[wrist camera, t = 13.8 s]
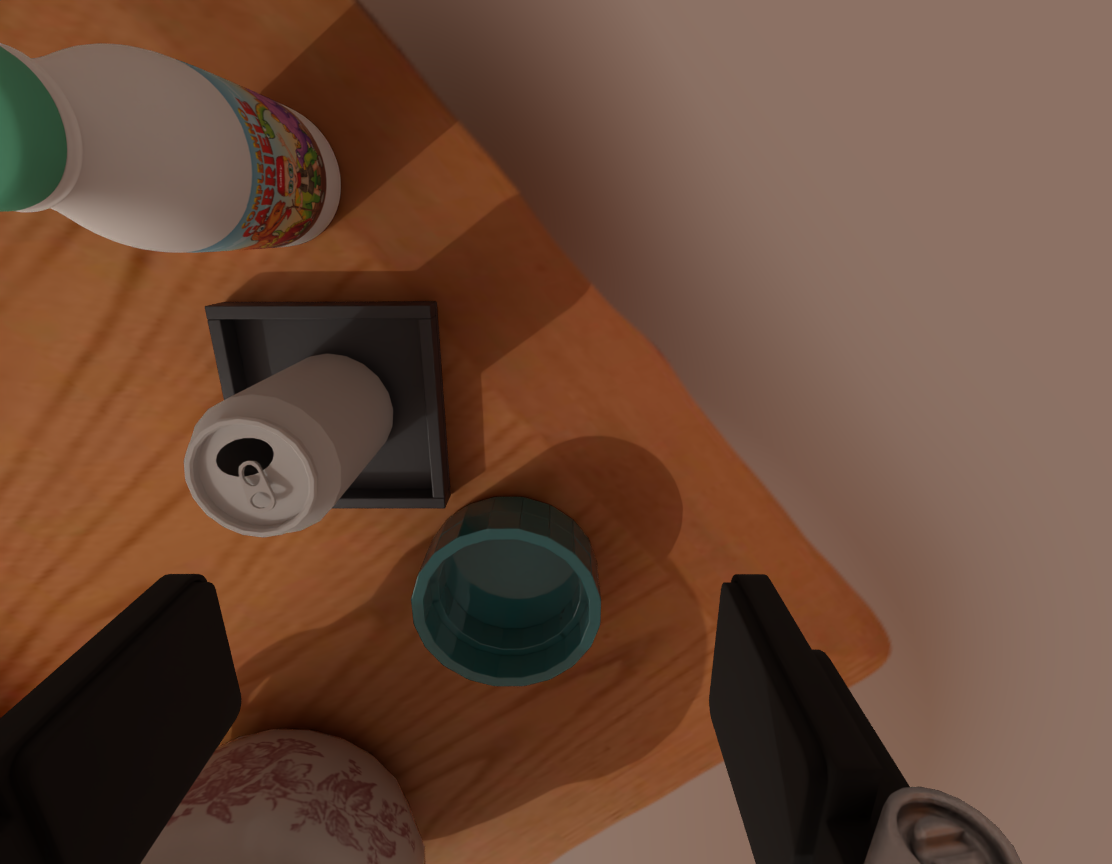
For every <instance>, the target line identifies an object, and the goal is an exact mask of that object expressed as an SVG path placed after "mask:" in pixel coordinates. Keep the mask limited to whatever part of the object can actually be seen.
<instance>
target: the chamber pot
mask: <svg viewBox="0 0 1112 864" xmlns="http://www.w3.org/2000/svg"><path fill="white" fill-rule="evenodd" d="M141 864H426V863H425V846H424V843H423V841H422V838H421V835H420V832H419V830H418V827H417V824H416V821H415V819H414V816H413V813H412V811H411V808H410V805H409V803H408V801H407V799H406V797H405V795H404V793H403V791H402V789H401V787H400V785H399V783H398V781H397V779H396V778H395V777H394V776H393V775H392V774H391V773H390V772H389V771H388V770H387V769H386V768H385V767H384V766H383V765H382V764H381V763H380V762H379V761H378V760H377V759H376V758H375V757H374V756H373V755H372V754H371V753H369V752H367V751H366V750H364V749H362V748H360V747H358V746H356V745H355V744H353V743H351V742H349V741H347V740H346V739H344V738H341V737H337V736H333V735H330V734H326V733H322V732H319V731H315V730H310V729H281V728H279V729H272V730H267V731H263V732H258V733H254V734H249V735H245V736H240V737H237V738H235V739H233V740H231V741H229V742H227V743H225V744H223V745H221V746H219V747H217V749H216V750H215V752H214V753H213V755H212V756H211V758H210V759H209V761H208V762H207V764H206V765H205V767H204V768H203V770H202V771H201V773H200V774H199V776H198V777H197V779H196V780H195V782H194V783H193V785H192V786H191V788H190V789H189V791H188V792H187V794H186V796H185V797H184V799H183V800H182V802H181V803H180V805H179V806H178V808H177V809H176V811H175V812H174V814H173V815H172V817H171V818H170V820H169V821H168V823H167V824H166V826H165V827H164V829H163V830H162V832H161V833H160V835H159V836H158V838H157V839H156V841H155V842H154V844H153V846H152V847H151V849H150V850H149V852H148V853H147V855H146V856H145V858H144V859H143V861H142V862H141Z"/></svg>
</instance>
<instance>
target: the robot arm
mask: <svg viewBox="0 0 1112 864" xmlns="http://www.w3.org/2000/svg"><path fill="white" fill-rule="evenodd" d="M240 707H241V693H240V689H239V685H238V681H237V676H236V672H235V668H234V664H233V660H232V655H231V651H230V647H229V643H228V639H227V635H226V630H225V626H224V622H223V618H222V614H221V610H220V605H219V601H218V597H217V593H216V589H215V587H214V585H213V584H212V583H210V582H207V580H206V578H205V577H204V576H203V575H200V574H168V575H165V576H163V577H161V578H160V579H159V580H158V581H157V582H155V583H154V584H153V585H152V586H151V587H150V588H149V589H147V590H146V591H145V592H144V593H143V594H142V595H141V596H139V597H138V598H137V599H136V600H135V601H134V602H133V603H131V604H130V605H129V606H128V607H127V608H126V609H125V610H123V611H122V612H121V613H120V614H119V615H118V616H117V617H115V618H114V619H113V620H112V621H111V622H110V623H109V624H107V625H106V626H105V627H104V628H103V629H102V630H101V631H100V632H98V633H97V634H96V635H95V636H94V637H93V638H92V639H90V640H89V641H88V642H87V643H86V644H85V645H84V646H82V647H81V648H80V649H79V650H78V651H77V652H76V653H74V654H73V655H72V656H71V657H70V658H69V659H68V660H66V661H65V662H64V663H63V664H62V665H61V666H60V667H58V668H57V669H56V670H55V671H54V672H53V673H52V674H50V675H49V676H48V677H47V678H46V679H45V680H44V681H42V682H41V683H40V684H39V685H38V686H37V687H36V688H34V689H33V690H32V691H31V692H30V693H29V694H28V695H27V696H25V697H24V698H23V699H22V700H21V701H20V702H19V703H17V704H16V705H15V706H14V707H13V708H12V709H11V710H9V711H8V712H7V713H6V714H5V715H4V716H3V717H1V718H0V864H141V862H142V861H143V859H144V858H145V856H146V855H147V853H148V852H149V850H150V849H151V847H152V846H153V844H154V842H155V841H156V839H157V838H158V836H159V835H160V833H161V832H162V830H163V829H164V827H165V826H166V824H167V823H168V821H169V820H170V818H171V817H172V815H173V814H174V812H175V811H176V809H177V808H178V806H179V805H180V803H181V802H182V800H183V799H184V797H185V796H186V794H187V792H188V791H189V789H190V788H191V786H192V785H193V783H194V782H195V780H196V779H197V777H198V776H199V774H200V773H201V771H202V770H203V768H204V767H205V765H206V764H207V762H208V761H209V759H210V758H211V756H212V755H213V753H214V752H215V750H216V749H217V747H218V745H219V744H220V742H221V741H222V739H223V738H224V736H225V735H226V733H227V732H228V730H229V729H230V727H231V726H232V724H233V723H234V721H235V720H236V718H237V716H238V714H239V711H240ZM709 707H710V714H711V719H712V723H713V726H714V729H715V732H716V736H717V739H718V742H719V745H720V749H721V752H722V755H723V758H724V762H725V765H726V768H727V771H728V775H729V778H730V781H731V784H732V787H733V791H734V794H735V797H736V801H737V804H738V807H739V810H740V814H741V817H742V820H743V823H744V827H745V830H746V833H747V836H748V840H749V843H750V846H751V849H752V853H753V856H754V859H755V862H756V864H1022V862H1021V860H1020V858H1019V856H1018V854H1017V852H1016V850H1015V848H1014V846H1013V845H1012V844H1011V842H1010V841H1009V840H1008V839H1007V838H1006V836H1005V835H1004V834H1003V833H1002V831H1001V830H1000V829H999V828H998V827H997V826H996V825H995V824H993V822H991V821H990V820H989V819H988V818H987V817H986V816H984V815H983V814H982V813H981V812H980V811H978V810H977V809H975V808H973V807H972V806H970V805H969V804H967V803H965V802H964V801H962V800H960V799H959V798H956V797H953V796H951V795H949V794H946V793H944V792H942V791H939V790H935V789H929V788H924V787H910V786H909V785H908V783H907V782H906V780H905V778H904V777H903V775H902V774H901V772H900V770H899V769H898V767H897V766H896V764H895V762H894V761H893V759H892V758H891V756H890V754H889V753H888V751H887V750H886V748H885V746H884V745H883V743H882V742H881V740H880V739H879V737H878V735H877V734H876V732H875V730H874V729H873V727H872V726H871V724H870V722H869V721H868V719H867V718H866V716H865V714H864V713H863V711H862V710H861V708H860V707H859V705H858V703H857V702H856V700H855V698H854V697H853V695H852V694H851V692H850V690H849V689H848V687H847V686H846V684H845V682H844V681H843V679H842V678H841V676H840V674H839V673H838V671H837V670H836V668H835V666H834V665H833V663H832V662H831V660H830V659H829V657H828V656H827V655H826V654H825V653H824V652H823V651H821V650H812V649H811V648H810V646H809V644H808V643H807V641H806V639H805V638H804V636H803V634H802V632H801V631H800V629H799V627H798V626H797V624H796V622H795V621H794V619H793V617H792V616H791V614H790V612H789V611H788V609H787V607H786V606H785V604H784V602H783V601H782V599H781V597H780V596H779V594H778V592H777V590H776V589H775V587H774V585H773V584H772V582H771V580H770V579H769V577H768V576H767V575H764V574H735V575H734V576H733V577H732V580H731V583H723V584H722V587H721V595H720V604H719V613H718V622H717V631H716V640H715V649H714V659H713V668H712V677H711V686H710V695H709Z"/></svg>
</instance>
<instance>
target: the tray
mask: <svg viewBox="0 0 1112 864" xmlns="http://www.w3.org/2000/svg"><path fill="white" fill-rule="evenodd" d="M205 311H206V316H207V319H209V320H208V324H209V329H210V334H211V339H212V344H213V349H214V353H215V358H216V363H217V368H218V373H219V378H220V382H221V387H222V392H223V397H224V400H226V399H227V398H229V397H231V396H233V395H235V394H237V393H239V392H241V391H243V390H245V389H247V388H249V387H251V386H253V385H255V384H257V383H259V382H261V381H263V380H264V379H266V378H268V377H270V376H272V375H274V374H276V373H278V372H280V371H282V370H284V369H286V368H288V367H290V366H292V365H294V364H296V363H298V362H300V361H302V360H304V359H306V358H308V357H310V356H316V355H321V354H335V355H342V356H347V357H349V358H351V359H353V360H356V361H358V362H360V363H362V364H364V365H365V366H366V367H367V368H369V369H370V370H371V371H372V372H373V373H374V374H376V375H377V376H378V377H379V379H380V380H381V382H382V383H383V385H384V386H385V388H386V390H387V391H388V393H389V396H390V400H391V403H392V407H393V425H392V429H391V431H390V434H389V436H388V438H387V441H386V442H385V444H384V445H383V446H382V447H381V449H380V450H379V451H378V452H377V453H376V455H375V456H374V457H373V458H372V460H371V461H370V462H369V463H368V464H367V466H366V467H365V468H364V469H363V471H362V472H361V473H360V474H359V475H358V477H357V478H356V479H355V480H354V482H353V483H352V484H351V485H350V486H349V488H348V489H347V490H346V491H345V493H344V494H343V495H342V496H341V497H340V499H339V500H338V501H337V502H336V504H335V505H334V506H333V507H332V508H445V507H446V505H447V502H448V500H449V498H450V495H451V492H450V478H449V464H448V450H447V437H446V423H445V409H444V395H443V382H442V368H441V354H440V340H439V326H438V313H437V302H436V301H378V302H222V303H217V304H212V305H208V306H205Z"/></svg>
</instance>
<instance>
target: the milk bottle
mask: <svg viewBox="0 0 1112 864" xmlns="http://www.w3.org/2000/svg"><path fill="white" fill-rule="evenodd" d="M340 193H341V179H340V172H339V167H338V163H337V160H336V157H335V155H334V152H333V150H332V148H331V146H330V145H329V143H328V141H327V140H326V138H325V137H324V135H323V134H322V133H321V132H320V130H319V129H318V128H317V127H316V126H315V125H314V124H313V123H312V122H311V121H309V120H308V119H307V118H306V117H304V116H303V115H301V114H300V113H298V112H296V111H294V110H293V109H291V108H289V107H287V106H285V105H283V104H280V103H278V102H276V101H274V100H271V99H269V98H267V97H265V96H263V95H260V94H258V93H256V92H253V91H251V90H249V89H247V88H244V87H242V86H240V85H237V84H235V83H233V82H231V81H228V80H226V79H224V78H221V77H219V76H216V75H214V74H212V73H209V72H207V71H205V70H202V69H200V68H197V67H195V66H193V65H190V64H187V63H185V62H182V61H179V60H176V59H174V58H171V57H168V56H165V55H163V54H160V53H157V52H154V51H150V50H146V49H141V48H137V47H132V46H126V45H118V44H89V45H79V46H74V47H70V48H66V49H63V50H59V51H57V52H54V53H51V54H48V55H46V56H43V57H39V58H32V59H31V58H29V57H28V56H26V55H25V54H23V53H22V52H20V51H18V50H16V49H14V48H12V47H10V46H7V45H5V44H2V43H0V211H17V212H37V211H42V210H45V209H49V208H51V209H53V210H56V211H58V212H60V213H61V214H63V215H65V216H66V217H68V218H70V219H71V220H73V221H74V222H76V223H77V224H79V225H81V226H83V227H85V228H86V229H88V230H90V231H92V232H94V233H96V234H98V235H101V236H103V237H105V238H108V239H110V240H113V241H115V242H118V243H121V244H125V245H128V246H132V247H136V248H140V249H146V250H153V251H161V252H215V251H233V250H248V249H262V248H275V247H287V246H293V245H299V244H302V243H305V242H308V241H310V240H312V239H313V238H315V237H317V236H318V235H319V234H320V233H322V232H323V231H324V230H325V229H326V227H327V226H328V225H329V224H330V222H331V221H332V219H333V217H334V215H335V213H336V211H337V208H338V204H339V200H340Z"/></svg>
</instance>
